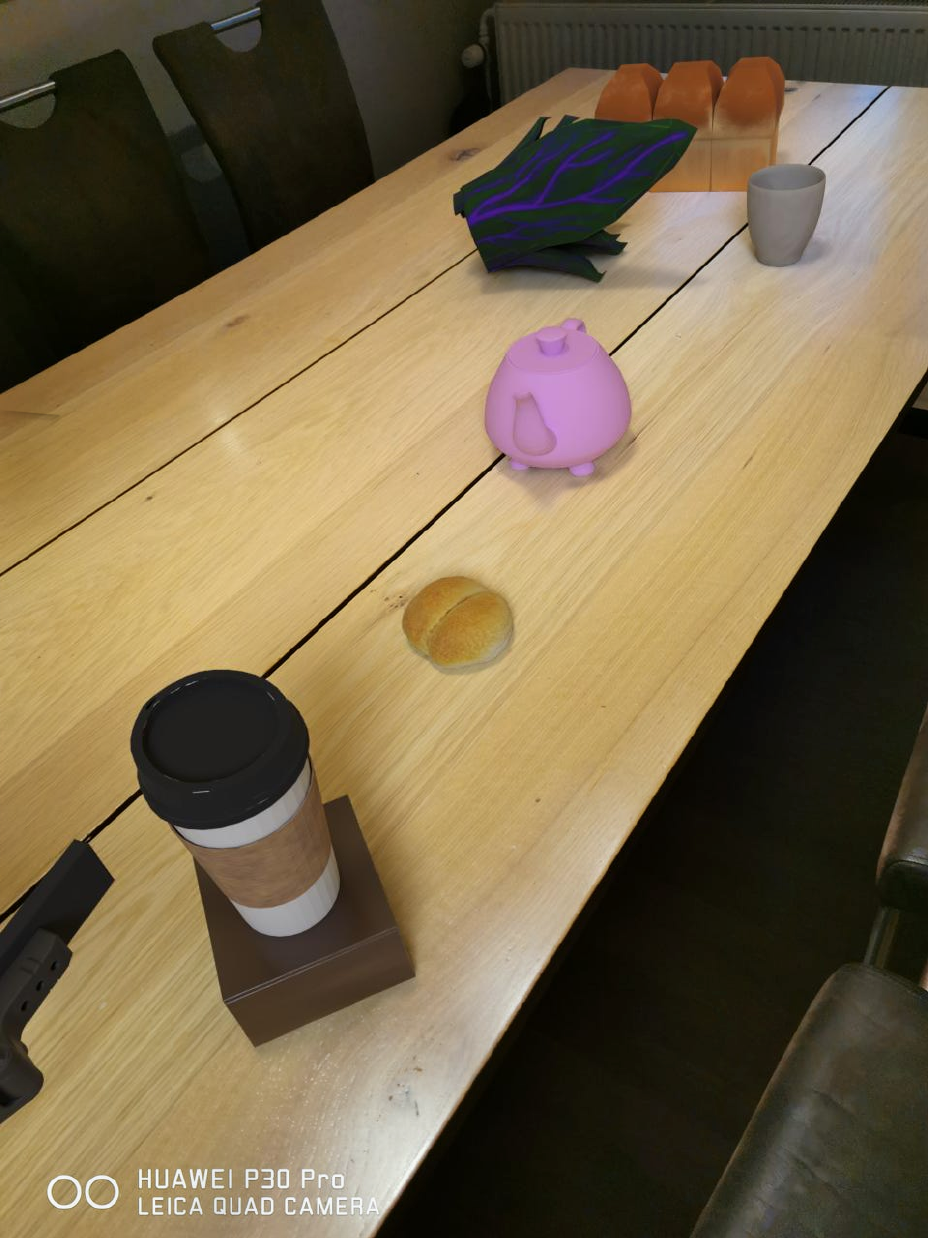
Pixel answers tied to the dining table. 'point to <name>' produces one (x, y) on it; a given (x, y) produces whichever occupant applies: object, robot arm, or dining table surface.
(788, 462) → the dining table surface
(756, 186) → the mug
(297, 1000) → the riser
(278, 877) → the coffee cup
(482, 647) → the bread roll
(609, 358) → the teapot
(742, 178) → the bread
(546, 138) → the decorative plant
